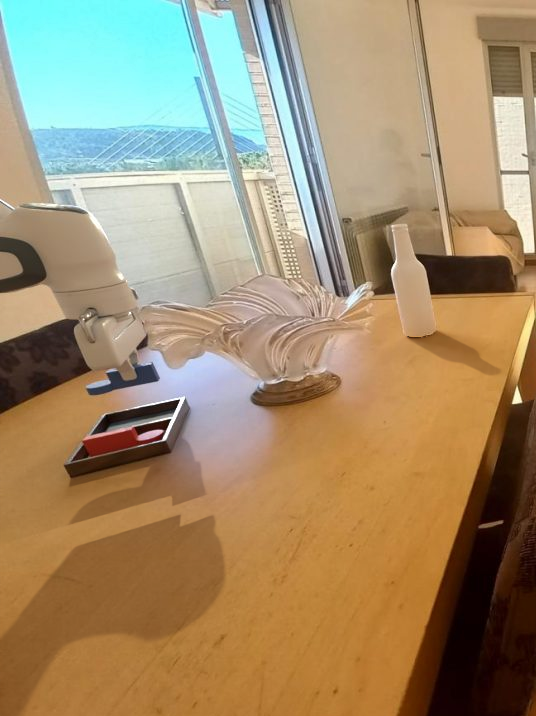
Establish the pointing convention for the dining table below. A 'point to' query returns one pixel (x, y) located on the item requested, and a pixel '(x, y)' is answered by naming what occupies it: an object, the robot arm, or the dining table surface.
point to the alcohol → (411, 287)
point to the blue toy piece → (116, 381)
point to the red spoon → (119, 440)
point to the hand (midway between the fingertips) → (133, 375)
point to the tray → (143, 420)
